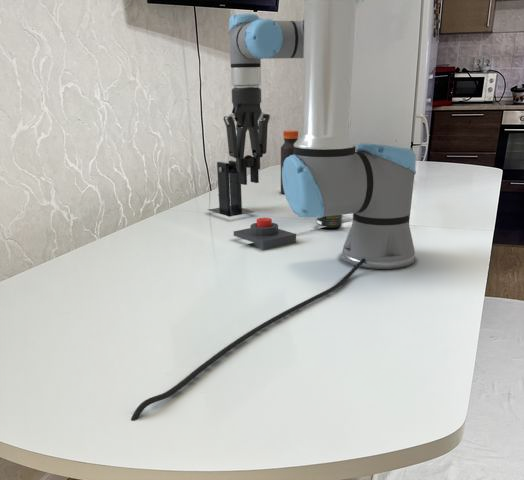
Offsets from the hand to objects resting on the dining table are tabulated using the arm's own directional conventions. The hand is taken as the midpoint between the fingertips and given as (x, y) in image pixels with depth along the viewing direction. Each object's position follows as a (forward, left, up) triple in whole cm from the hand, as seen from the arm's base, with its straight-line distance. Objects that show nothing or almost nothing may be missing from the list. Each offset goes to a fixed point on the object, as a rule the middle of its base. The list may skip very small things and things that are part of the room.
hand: (248, 183), depth 143 cm
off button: (-16, -16, -7) cm, 24 cm away
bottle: (+41, +12, -10) cm, 44 cm away
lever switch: (+3, +9, -10) cm, 14 cm away
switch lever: (+1, +4, +3) cm, 5 cm away
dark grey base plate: (-16, -16, -10) cm, 25 cm away
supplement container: (+4, -23, -10) cm, 26 cm away
